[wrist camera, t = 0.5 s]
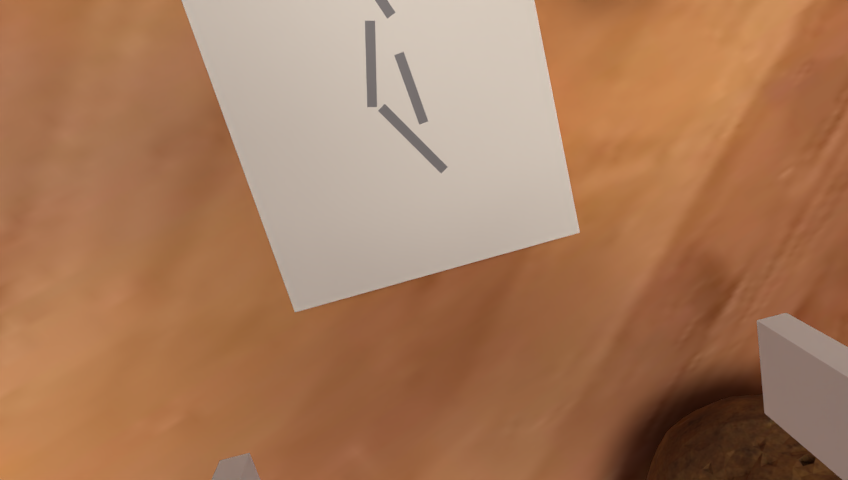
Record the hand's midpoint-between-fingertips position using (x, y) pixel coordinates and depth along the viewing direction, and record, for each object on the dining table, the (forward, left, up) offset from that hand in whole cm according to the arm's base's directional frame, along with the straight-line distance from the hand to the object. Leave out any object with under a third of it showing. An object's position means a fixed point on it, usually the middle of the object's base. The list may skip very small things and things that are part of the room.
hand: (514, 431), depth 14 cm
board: (-11, -1, -25) cm, 28 cm away
